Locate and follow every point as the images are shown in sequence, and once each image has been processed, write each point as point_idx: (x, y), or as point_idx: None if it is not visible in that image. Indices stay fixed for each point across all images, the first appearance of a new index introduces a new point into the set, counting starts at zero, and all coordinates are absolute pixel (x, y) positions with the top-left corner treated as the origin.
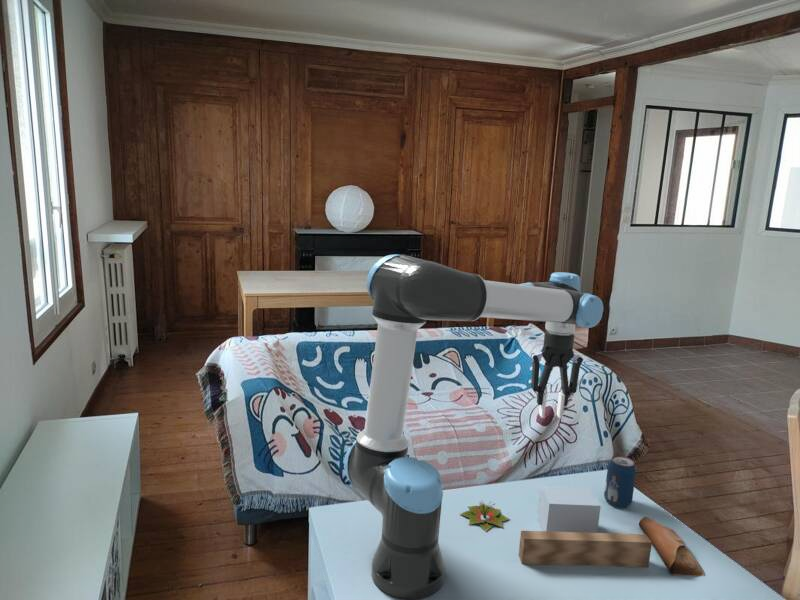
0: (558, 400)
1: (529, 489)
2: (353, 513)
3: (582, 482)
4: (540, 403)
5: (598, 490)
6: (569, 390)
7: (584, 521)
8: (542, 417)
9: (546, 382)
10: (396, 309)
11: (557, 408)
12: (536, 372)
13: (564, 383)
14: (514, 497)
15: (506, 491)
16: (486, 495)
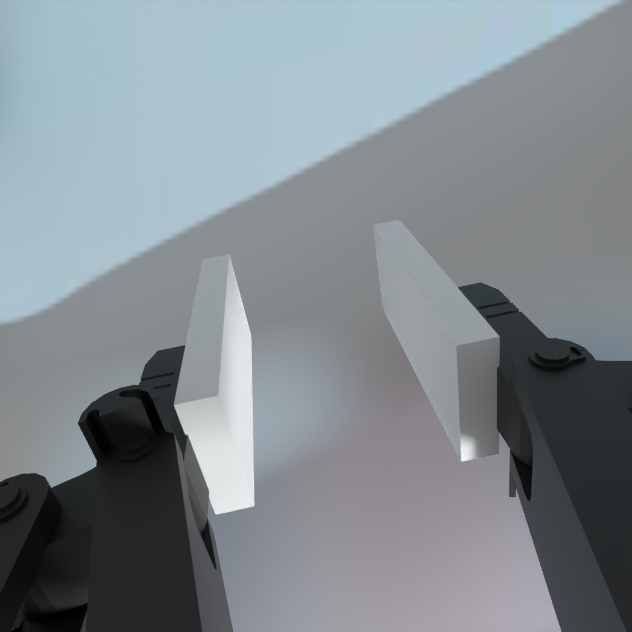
0: (249, 417)
1: (333, 113)
2: None
3: (104, 236)
4: (469, 294)
5: (32, 183)
6: (91, 508)
7: None
8: (392, 222)
9: (599, 503)
10: None
11: (249, 364)
12: None
13: (179, 588)
14: (407, 17)
15: (434, 67)
16: (527, 5)
